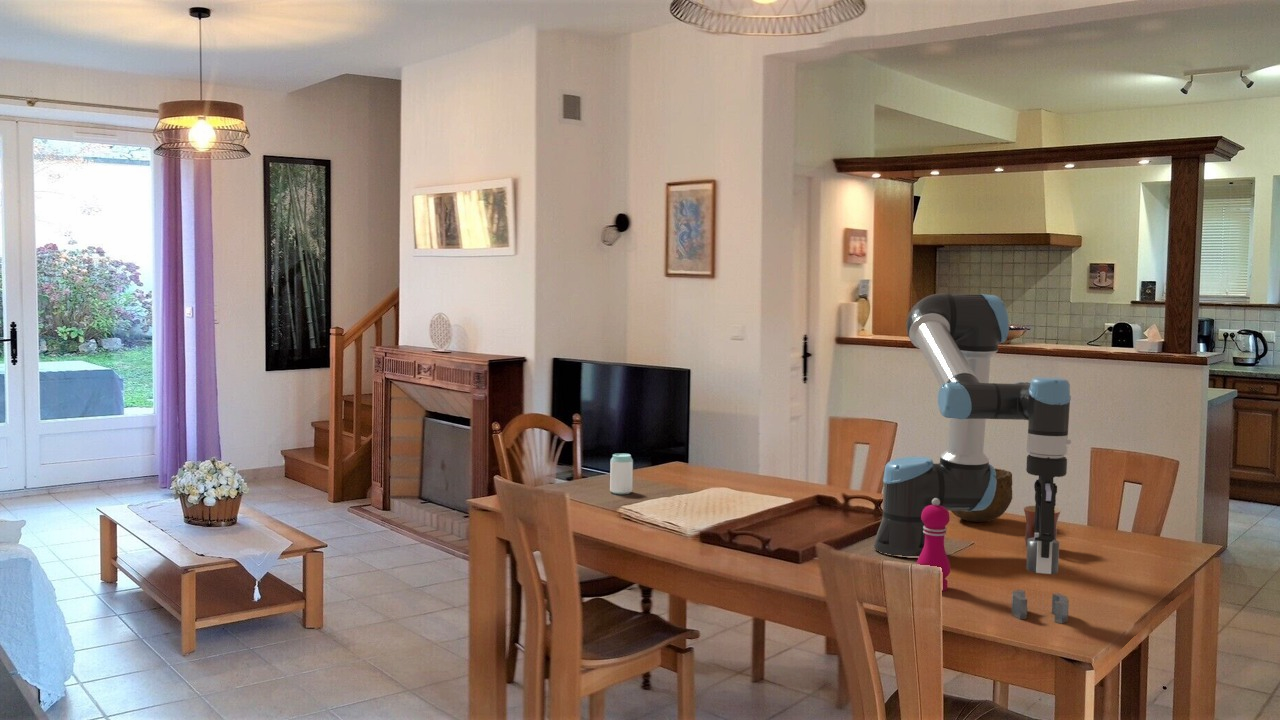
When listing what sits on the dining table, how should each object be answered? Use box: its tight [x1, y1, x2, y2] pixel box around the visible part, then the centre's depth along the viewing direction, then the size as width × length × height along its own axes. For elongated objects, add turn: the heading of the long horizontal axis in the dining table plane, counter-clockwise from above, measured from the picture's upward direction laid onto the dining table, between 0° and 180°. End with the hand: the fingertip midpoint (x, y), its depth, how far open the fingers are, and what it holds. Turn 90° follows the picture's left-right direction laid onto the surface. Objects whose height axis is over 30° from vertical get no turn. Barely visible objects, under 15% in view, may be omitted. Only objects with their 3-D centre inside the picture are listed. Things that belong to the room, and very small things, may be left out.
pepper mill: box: [916, 498, 951, 592], centre depth 226 cm, size 7×7×20 cm
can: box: [609, 453, 634, 495], centre depth 322 cm, size 7×7×12 cm
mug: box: [1023, 505, 1062, 547], centre depth 260 cm, size 12×9×10 cm
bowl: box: [951, 467, 1013, 523], centre depth 291 cm, size 19×19×15 cm
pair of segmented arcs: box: [1010, 589, 1070, 624], centre depth 208 cm, size 10×7×4 cm
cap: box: [1025, 538, 1060, 575], centre depth 207 cm, size 6×6×6 cm
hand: (1042, 568), depth 207 cm, fingers closed on cap, 6 cm apart
